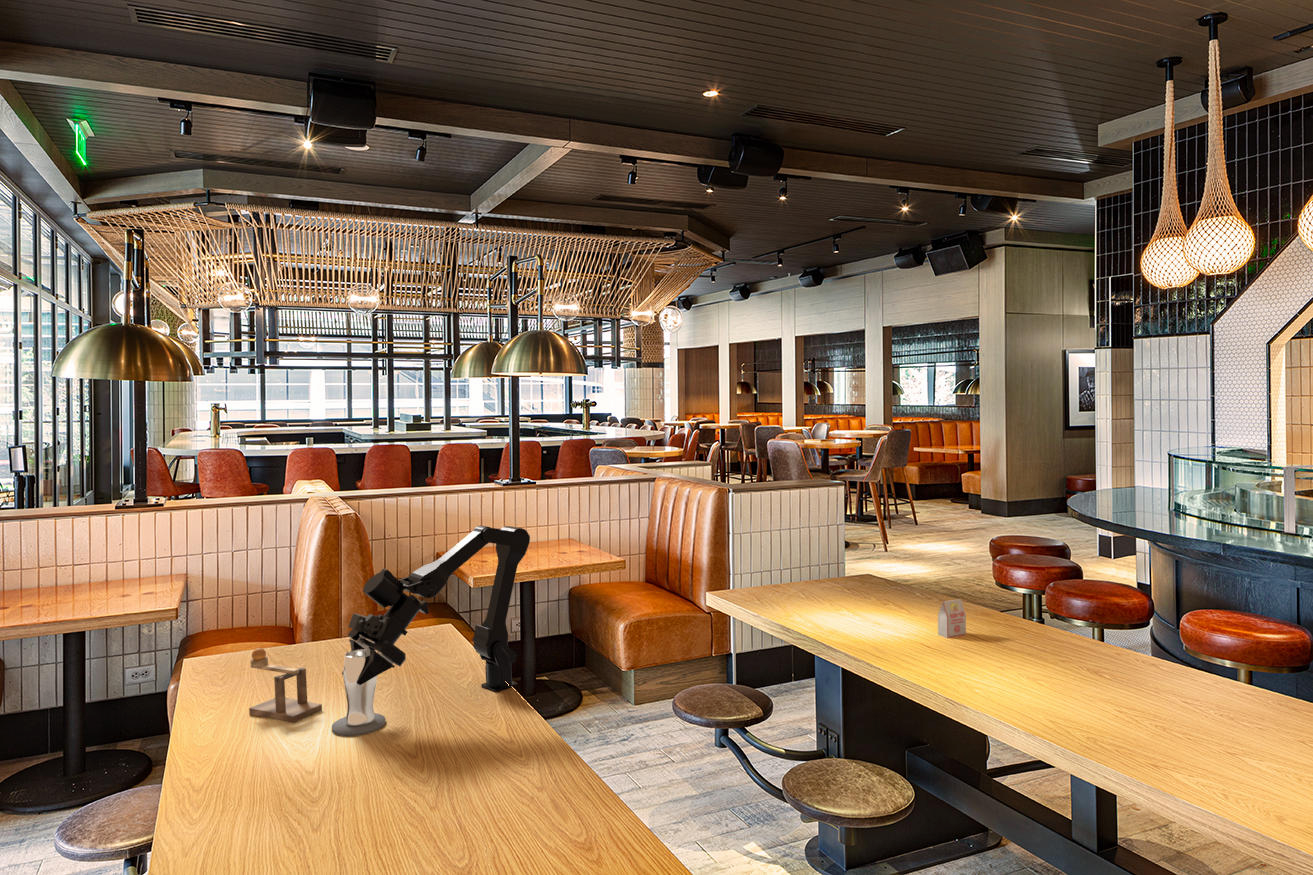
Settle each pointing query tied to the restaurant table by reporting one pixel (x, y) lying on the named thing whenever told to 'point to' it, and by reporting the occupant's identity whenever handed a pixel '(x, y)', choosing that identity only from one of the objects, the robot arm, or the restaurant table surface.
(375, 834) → the restaurant table surface
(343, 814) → the restaurant table surface
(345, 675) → the beer glass
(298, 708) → the toy catapult
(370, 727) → the mat
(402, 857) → the restaurant table surface
